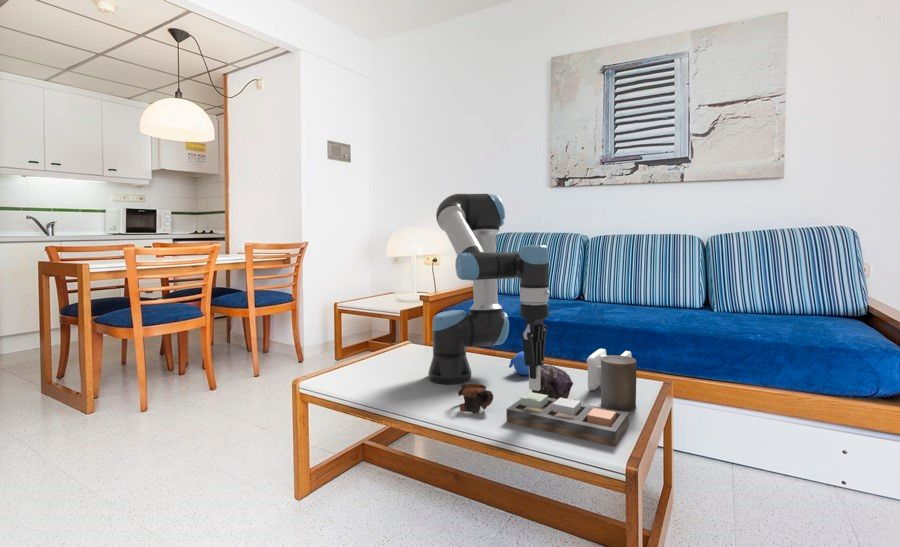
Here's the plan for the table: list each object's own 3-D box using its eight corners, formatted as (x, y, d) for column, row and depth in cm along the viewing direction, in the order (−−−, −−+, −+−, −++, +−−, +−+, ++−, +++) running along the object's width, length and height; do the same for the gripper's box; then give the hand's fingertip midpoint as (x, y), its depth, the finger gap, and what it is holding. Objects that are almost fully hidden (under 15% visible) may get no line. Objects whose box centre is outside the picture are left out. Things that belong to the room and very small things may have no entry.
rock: (558, 409, 135) (577, 399, 142) (562, 381, 133) (581, 372, 140) (524, 393, 144) (544, 384, 151) (528, 366, 142) (547, 359, 149)
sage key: (520, 404, 125) (520, 397, 125) (529, 398, 130) (529, 391, 130) (540, 408, 122) (540, 401, 122) (548, 402, 127) (548, 395, 127)
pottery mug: (449, 412, 132) (452, 383, 136) (469, 418, 138) (471, 390, 142) (484, 410, 125) (485, 379, 128) (503, 416, 131) (504, 387, 135)
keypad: (506, 421, 123) (506, 409, 123) (527, 405, 135) (527, 393, 135) (615, 446, 108) (615, 431, 108) (628, 425, 119) (628, 412, 119)
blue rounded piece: (535, 368, 174) (535, 345, 173) (545, 377, 162) (545, 353, 161) (503, 369, 172) (503, 347, 172) (511, 379, 160) (511, 355, 160)
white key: (552, 411, 120) (552, 403, 120) (560, 404, 125) (560, 397, 125) (573, 415, 117) (573, 407, 117) (580, 408, 122) (580, 401, 122)
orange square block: (587, 422, 115) (587, 414, 115) (593, 415, 120) (593, 407, 120) (610, 427, 112) (610, 419, 112) (615, 419, 117) (616, 411, 117)
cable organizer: (620, 398, 140) (621, 360, 139) (585, 392, 146) (586, 356, 145) (631, 385, 152) (632, 350, 151) (599, 379, 158) (599, 346, 157)
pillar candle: (643, 406, 133) (643, 355, 132) (622, 414, 127) (623, 360, 126) (613, 397, 141) (614, 349, 139) (593, 404, 135) (593, 354, 134)
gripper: (538, 306, 116) (538, 398, 118) (556, 300, 127) (556, 385, 129) (511, 305, 120) (511, 393, 122) (531, 299, 131) (531, 380, 133)
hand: (534, 389), depth 125 cm, fingers closed
